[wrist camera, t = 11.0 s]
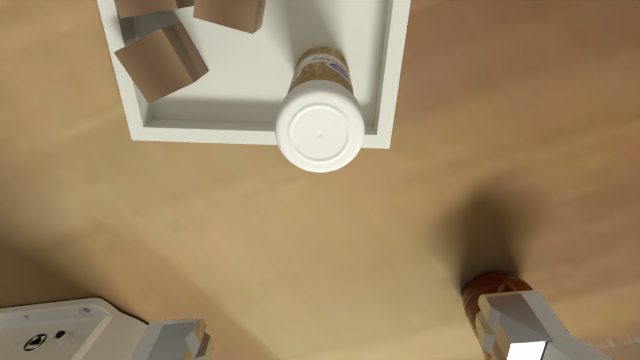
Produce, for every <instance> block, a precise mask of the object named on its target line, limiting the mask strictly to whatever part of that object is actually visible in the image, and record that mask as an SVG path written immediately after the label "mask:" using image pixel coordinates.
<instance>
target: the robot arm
mask: <svg viewBox="0 0 640 360" xmlns="http://www.w3.org/2000/svg"><path fill="white" fill-rule="evenodd" d="M478 305H479V307H480V309H481V311H480V312H478V313H477V314H476V321H475V324H476V331H477V335H478V338H479V341H480V343H481V346H482V348H483V349H484V350H485V351H487V352H488V353H489V354H490V355H491V360H613V359H611V358H609V357H608V356H606V355H604V354H603V353H601V352H600V351H598V350H596V349H595V348H593V347H592V346H590V345H588V344H587V343H585V342H583V341H582V340H575V339H574V338H573V337H572V335H571V334H570V333H569V331H568V330H567V329H566V327H565V326H564V325H563V323H562V322H561V321H560V319H559V318H558V317H557V315H556V314H555V313H554V311H553V310H552V309H551V307H550V306H549V304H548V303H547V302H546V300H545V299H544V298H543V296H542V295H541V294H540V293H539V292H538V291H536V290H530V291H518V292H515V291H514V292H504V293H494V294H483V295H481V296H480V297H479V300H478ZM205 329H206V324H205V322H204V320H203V319H200V318H199V319H181V320H165V321H152V322H151V323H150V324H149V325H146V324H145V323H143V322H141V321H139V320H137V319H135V318H133V317H130V316H128V315H125V314H123V313H121V312H119V311H118V310H117V309H116V308H114V307H113V306H112V305H110V304H109V303H108V302H106V301H104V300H102V299H100V298H87V299H78V300H69V301H61V302H52V303H44V304H35V305H26V306H18V307H9V308H1V309H0V360H213V351H214V348H213V341H212V338H211V336H210V335H208V334H207V333H205Z"/></svg>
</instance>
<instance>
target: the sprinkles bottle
mask: <svg viewBox="0 0 640 360" xmlns="http://www.w3.org/2000/svg"><path fill="white" fill-rule="evenodd" d="M364 135H365V124H364V118H363V114H362V111H361V107H360V105H359V103H358V101H357V99H356V98H355V97H354V93H353V86H352V82H351V78H350V74H349V67H348V64H347V62H346V60H345V59H344V57H343V55H342V54H341V53H339V52H338V51H337V50H335V49H333V48H330V47H326V46H317V47H314V48H311V49H309V50H308V51H306V52H305V53H304V54H303V55H302V56H301V57H300V58H299V60H298V62H297V65H296V68H295V72H294V75H293V78H292V81H291V84H290V87H289V90H288V93H287V95H286V97H285V98H284V99H283V101H282V103H281V105H280V108H279V111H278V114H277V117H276V122H275V136H276V140H277V143H278V146H279V148H280V150H281V152H282V153H283V155H284V156H285V157H286V158H287V159H288V160H289V161H290V162H292V163H293V164H294V165H296V166H297V167H299V168H302V169H304V170H307V171H311V172H329V171H333V170H336V169H338V168H341V167H343V166H344V165H346V164H347V163H349V162H350V161H351V160H352V159H353V158H354V157H355V156H356V154H357V153H358V151H359V150H360V148H361V146H362V143H363V140H364Z"/></svg>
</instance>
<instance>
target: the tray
mask: <svg viewBox="0 0 640 360" xmlns="http://www.w3.org/2000/svg"><path fill="white" fill-rule="evenodd" d="M97 2H98V6H99V10H100V14H101V18H102V22H103V26H104V30H105V34H106V38H107V42H108V46H109V50H110V54H111V58H112V62H113V66H114V70H115V74H116V78H117V82H118V86H119V90H120V94H121V98H122V102H123V106H124V110H125V114H126V118H127V122H128V126H129V130H130V134H131V138H132V140H144V141H174V142H204V143H234V144H265V145H278V143H277V140H276V136H275V122H276V117H277V114H278V111H279V108H280V105H281V103H282V101H283V99H284V98H285V97H286V95H287V93H288V90H289V87H290V84H291V81H292V78H293V75H294V72H295V68H296V65H297V62H298V60H299V58H300V57H301V56H302V55H303V54H304V53H305V52H306V51H308V50H309V49H311V48H314V47H317V46H326V47H330V48H333V49H335V50H337V51H338V52H339V53H341V54H342V55H343V57H344V59H345V60H346V62H347V64H348V67H349V74H350V78H351V82H352V86H353V93H354V97H355V98H356V99H357V101H358V103H359V105H360V107H361V111H362V114H363V118H364V124H365V135H364V140H363V143H362V146H361V148H386V149H389V147H390V140H391V133H392V126H393V120H394V113H395V106H396V99H397V92H398V85H399V78H400V71H401V64H402V57H403V50H404V43H405V36H406V29H407V22H408V15H409V9H410V2H411V0H266V3H265V9H264V15H263V21H262V27H261V28H260V29H259V30H258V31H256V32H255V33H253V34H250V33H247V32H243V31H240V30H236V29H232V28H229V27H225V26H222V25H218V24H215V23H211V22H208V21H204V20H201V19H197V18H194V17H193V12H194V6H192V7H186V8H180V9H174V10H167V11H161V12H155V13H149V14H143V15H137V16H130V17H124V18H120V15H119V13H118V10H117V8H116V5H115V2H114V0H97ZM178 23H182V24H183V25H184V27H185V29H186V31H187V32H188V34H189V36H190V38H191V40H192V41H193V43H194V45H195V47H196V48H197V50H198V52H199V54H200V55H201V57H202V59H203V61H204V62H205V64H206V66H207V68H208V69H209V72H207V73H206V74H205V75H204V76H202V77H201V78H200V79H198V80H197V81H196V82H194V83H193V84H191V85H188V86H186V87H184V88H182V89H180V90H178V91H175V92H173V93H171V94H169V95H167V96H165V97H163V98H160V99H158V100H156V101H154V102H152V103H150V104H148V102H147V101H146V99H145V98H144V96H143V95H142V93H141V92H140V90H139V89H138V88H137V86H136V85H135V83H134V82H133V80H132V79H131V77H130V76H129V74H128V73H127V71H126V70H125V68H124V67H123V66H122V64H121V63H120V61H119V60H118V58H117V57H116V55H115V54H114V52H115V51H117V50H119V49H121V48H123V47H125V46H127V45H129V44H131V43H133V42H135V41H137V40H139V39H141V38H143V37H145V36H147V35H148V34H150V33H152V32H154V31H156V30H158V29H160V28H163V27H167V26H171V25H174V24H178Z"/></svg>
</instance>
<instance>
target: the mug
mask: <svg viewBox="0 0 640 360" xmlns="http://www.w3.org/2000/svg"><path fill="white" fill-rule="evenodd" d="M530 290H533V289H532V288H531V287H530V285H529V284H528V283H526V282H525V281H524V280H522V279H520V278H517V277H514V276H512V275H510V274H507V273H499V272H497V273H488V274H484V275H481V276H479V277H477V278H476V279H474V280H473V281H472V282H471V283H469V284H468V286H467V287H466V288H465V290H464V292H463V296H462V300H463V306H464V310H465V314H466V317H467V318H468V320H469V322H470V325H471V327H472V329H473V331H474V333H475V335H476V337H477V339H478V341H479V338H478V335H477V331H476V324H475V321H476V314H477V313H478V312H480V311H481V309H480V307H479V305H478V300H479V297H480V296H481V295H483V294H494V293H504V292H514V291H515V292H518V291H530ZM479 343H480V341H479ZM480 345H481V343H480ZM481 348H482V346H481ZM482 350H483V354H484V359H485V360H491V355H490V354H489V353H488V352H487V351H485V350H484V349H483V348H482Z"/></svg>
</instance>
